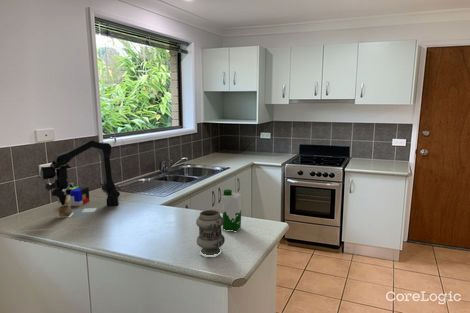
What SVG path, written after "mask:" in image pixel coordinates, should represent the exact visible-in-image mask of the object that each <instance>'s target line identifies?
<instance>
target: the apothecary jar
mask: <svg viewBox="0 0 470 313" xmlns="http://www.w3.org/2000/svg"><path fill="white" fill-rule="evenodd" d="M195 220H196V221H195V224H196V226H197V227H198V232H199V233H198V236H197V238H196V244H197V246H198V247H200V248H201V249H200V250H201V252H202V253H203V254H206V255H214V254H218V253H219V252H220V249H221V247H222V246H223V245H224V244H225V241H226V240H225V236H224V235H223V234H222V227H223V224H224V219H223V216H221V212H220V211H219V210H216V209H206V210H205V209H204V210H203V211H200V212H199V216H198V217H197V218H196V219H195ZM219 248H220V249H219Z"/></svg>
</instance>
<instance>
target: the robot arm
mask: <svg viewBox="0 0 470 313" xmlns="http://www.w3.org/2000/svg"><path fill="white" fill-rule="evenodd" d="M92 148H94V149H97V150H98V151H97V152H98V153H99V155H100V157H101V163H102V164H101V165H102V173H103V182H100V185H101V186H100V187H101V190H102V192H103V193H104V194H105V195H106V197H107V198H106V199H105V200H106V201H105V202H106V206H107V207H118V206H119V205H120V200H119V198H120V195H121V192H120V191H118V190H117V188H116V184H115V183H114V181H113V175H112V167H111V166H112V165H111V158H110V157H111V155H112V145H111V144H110V143H109V142H104V141H102V142H99V141H95V140H92V139H88V140H86V141H85V142H83V143H81V144H78V146H77V145H76V146H75V147H73V148H70V149H69V150H67V151H64V152H60V153H57V154H55V155H54V156H53V160H52V162H51V163H50V165H49V166H41V167H40V170H39V171H40V172H39V177H40V179H41V180H49V179H51V180H52V179H54V178H55V179H54V181H53V182H48V183H46V184H45V186H44V187H45V190H47V191H48V192H49V191H51V190H52V191H51V196H52V197H57V199H58V198H59V200H60V202H61V204H62V205H64V204H65V201H66V197H67V195H70V194H71V191H72V189H70V188H74V187H75V184H74V182H69V180H70V177H69V175H68V174H69V173H68V169H71V168H72V166H71V165H69V164H68V163H69V162H71V160H72V159H74V158H75V157H77V156H78V155H80V154H82V153H84V152H86V151H87V150H89V149H92Z"/></svg>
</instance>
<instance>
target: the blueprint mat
mask: <svg viewBox="0 0 470 313" xmlns="http://www.w3.org/2000/svg"><path fill="white" fill-rule="evenodd" d="M96 210H97V207H90V208H78V209H77V208H75V209H73V208H71V211H72V214H71V215H70V216H66V217H59V214H58V215H57V216H56V217H55V219H59V218H60V219H61V218H63V219H65V218H78V217H79V218H80V217H91V216H92V214H93V213H94V212H95V211H96Z"/></svg>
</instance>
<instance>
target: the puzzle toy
mask: <svg viewBox="0 0 470 313" xmlns="http://www.w3.org/2000/svg"><path fill="white" fill-rule="evenodd" d="M69 188H70V189H72V191H71V194H70V199H71V204H69V205H71V207H72V206H73V207H74V206H75V207H80V206H83V205H85V204H86V203H89V202H90V189H89V188H90V187H88V186H74V188H71V187H69Z"/></svg>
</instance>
